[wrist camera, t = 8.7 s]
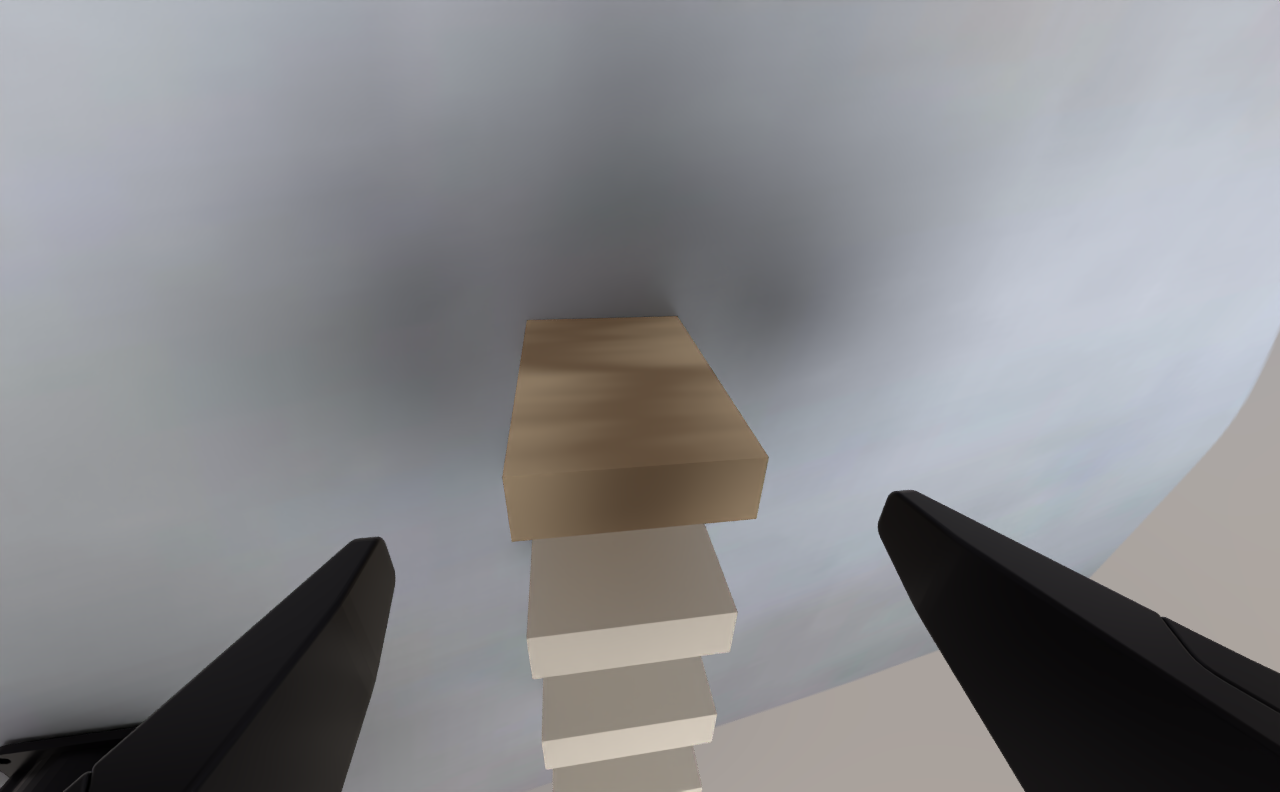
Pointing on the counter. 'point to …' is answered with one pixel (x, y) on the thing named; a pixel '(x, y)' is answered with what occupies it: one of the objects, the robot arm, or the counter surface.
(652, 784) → the domino
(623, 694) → the domino
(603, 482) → the maple domino
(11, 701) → the counter surface
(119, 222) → the counter surface
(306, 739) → the robot arm
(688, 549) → the domino
